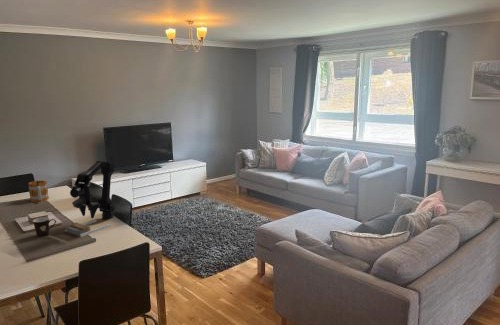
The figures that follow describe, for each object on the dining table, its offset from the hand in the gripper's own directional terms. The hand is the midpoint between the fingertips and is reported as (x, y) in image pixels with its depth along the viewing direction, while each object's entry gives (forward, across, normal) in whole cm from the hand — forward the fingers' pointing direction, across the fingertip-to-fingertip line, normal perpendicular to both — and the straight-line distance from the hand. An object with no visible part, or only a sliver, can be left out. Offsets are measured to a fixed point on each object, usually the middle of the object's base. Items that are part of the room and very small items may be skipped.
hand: (88, 217), depth 235 cm
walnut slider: (+8, 0, -6) cm, 10 cm away
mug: (+9, -96, +19) cm, 98 cm away
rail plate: (+9, 0, 0) cm, 9 cm away
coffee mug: (+9, -17, -19) cm, 27 cm away
